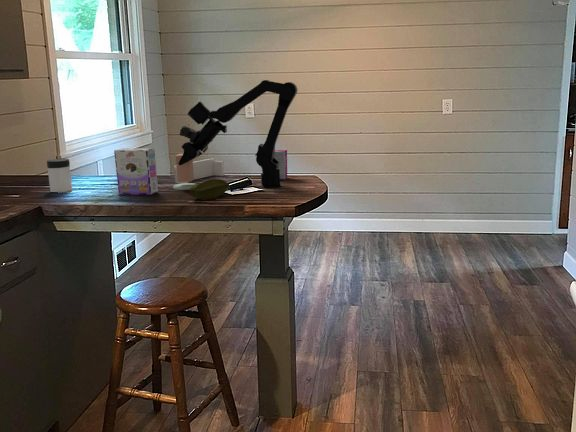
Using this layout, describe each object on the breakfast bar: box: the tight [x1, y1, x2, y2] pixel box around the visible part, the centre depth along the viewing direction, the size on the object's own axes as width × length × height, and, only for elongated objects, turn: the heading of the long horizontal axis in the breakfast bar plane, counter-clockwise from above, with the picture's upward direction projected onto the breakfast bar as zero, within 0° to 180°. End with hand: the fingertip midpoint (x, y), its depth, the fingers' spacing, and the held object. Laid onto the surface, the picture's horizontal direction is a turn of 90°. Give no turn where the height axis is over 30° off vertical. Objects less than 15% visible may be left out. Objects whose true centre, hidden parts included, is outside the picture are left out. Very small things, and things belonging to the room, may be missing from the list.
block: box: [175, 153, 195, 183], centre depth 237 cm, size 5×5×10 cm
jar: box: [46, 158, 73, 194], centre depth 240 cm, size 9×8×12 cm
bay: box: [173, 157, 225, 184], centre depth 256 cm, size 6×22×7 cm, turn 143°
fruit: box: [189, 178, 230, 201], centre depth 216 cm, size 11×12×7 cm
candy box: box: [113, 147, 159, 196], centre depth 229 cm, size 14×6×16 cm, turn 71°
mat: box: [172, 182, 196, 191], centre depth 238 cm, size 9×9×1 cm
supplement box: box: [274, 149, 288, 181], centre depth 249 cm, size 6×6×12 cm
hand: (181, 163), depth 236 cm, fingers closed on block, 5 cm apart
